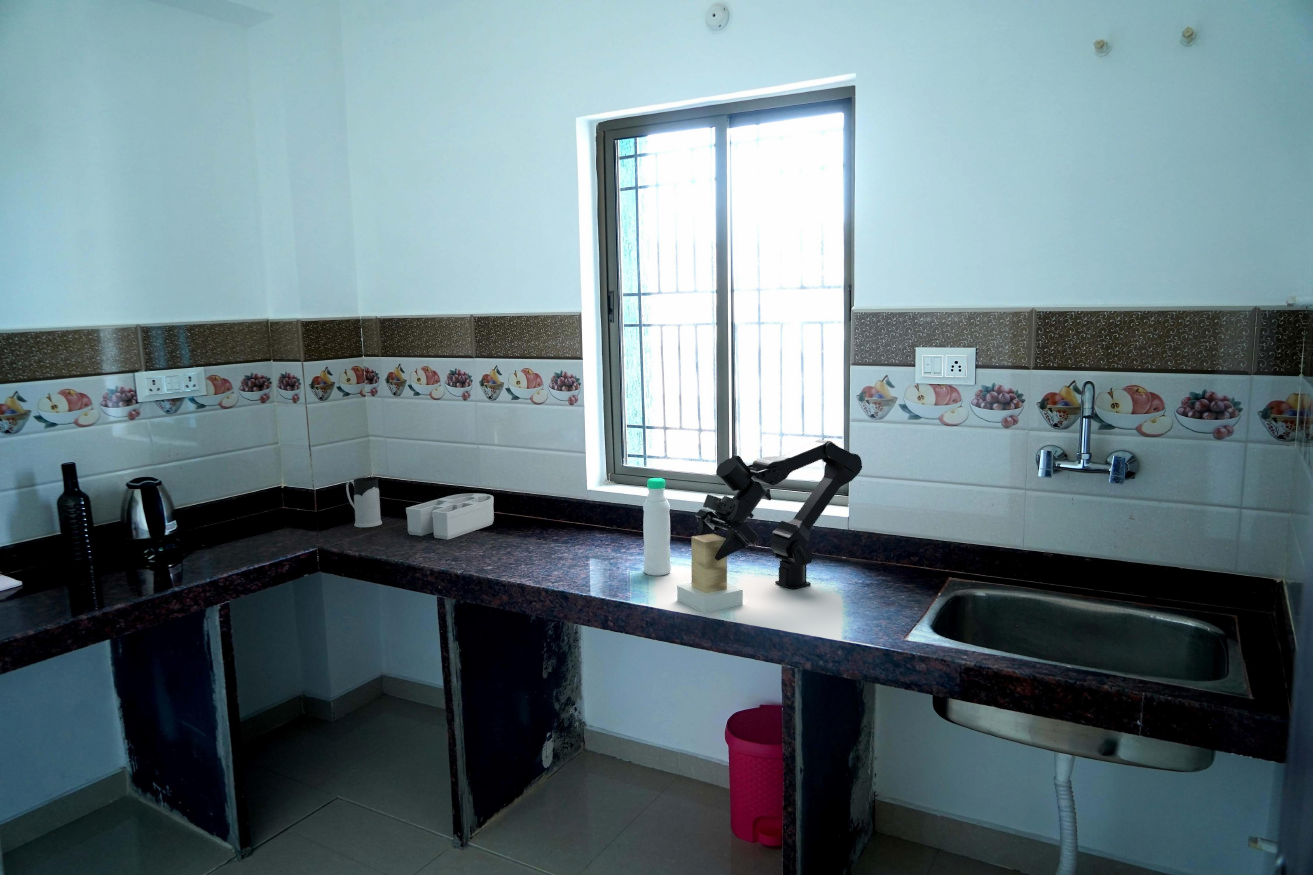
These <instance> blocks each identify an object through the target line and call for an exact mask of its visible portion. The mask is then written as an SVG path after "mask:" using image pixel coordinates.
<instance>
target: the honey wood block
mask: <svg viewBox="0 0 1313 875" xmlns="http://www.w3.org/2000/svg"><path fill="white" fill-rule="evenodd" d="M726 538H727V537H723V536H720V535H718V534H717V535H716V534H707V535H700V536H697V535H694V536H691V583H692V587H694V588H696V589H698V590H700V591H702V592H704V593H709V592H714V591H719V590H725V589H727V583H728V556H726V557H724V558H722V559H721V560H719V561H717V560H716V559H715V556H716V554H717V552H718V551H719V549H720V548H721V546H722V544H723V543H724V541H725V540H726Z"/></svg>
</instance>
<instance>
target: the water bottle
mask: <svg viewBox="0 0 1313 875" xmlns="http://www.w3.org/2000/svg"><path fill="white" fill-rule="evenodd" d="M646 486H647V490H648V494H647V495H646V498H645V500H644V503H643V505H642V510H643V520H642V521H643V525H642V526H643V527H642V528H643V544H644V546H643V558H644V560H643V572H644V573H645V574H646V575H649V576H655V577H658V576H659V577H662V576H665V575H668V574H669V573H670V572H671V570H672V569H671V568H672V565H671V546H670V543H671V516H670V510H671V504H670V502H669V500H668V498H667V495H666V494H665V489H666V480H665V479H664V478H661V477H653V478H648V479H647V482H646Z"/></svg>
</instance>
